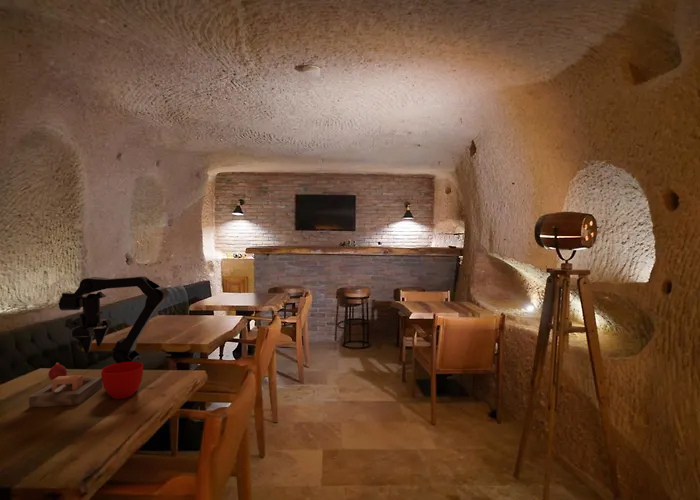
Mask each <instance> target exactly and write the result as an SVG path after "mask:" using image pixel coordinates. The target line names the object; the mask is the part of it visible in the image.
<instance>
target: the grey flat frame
mask: <svg viewBox="0 0 700 500" xmlns="http://www.w3.org/2000/svg"><path fill="white" fill-rule="evenodd" d="M102 387H103V382H102V376H98V377H83V386H82V387H81V388H79V389H78V390H77V391H72V384H71V385H70V386H68V387H67V388H65V389H64V391H63V392H59V393H58V394H54V393H53V392H52V382H51V383H50V384H47V385H46V386H45V387H43V388H41V389H39V390H38V391H36V392H35V393H33V394H31V395H29V396H28V404H29V407H28V408H41V407H42V408H44V407H45V408H46V407H58V406H72V405H75V406H76V405H81V404H82V403H83V402H84V401H86V400H87V399H88V398H89V397H91V396H92V395H93V394H95V393H96V392H98V391H99V390H100V389H101V388H102Z"/></svg>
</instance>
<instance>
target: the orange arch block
mask: <svg viewBox="0 0 700 500" xmlns="http://www.w3.org/2000/svg"><path fill="white" fill-rule="evenodd" d="M83 378H84V375H83V374H77V375H66V376H58V377H57V378H55V379H53V380H51V383H52V392H53V391H54V390H55V389H57V388H58V387H60V386H61V385H63V384H72V391H77V390H78V389H79V388H81V387H82V386H83ZM63 391H64V390H62V391H61V392H63Z"/></svg>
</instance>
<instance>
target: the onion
mask: <svg viewBox="0 0 700 500" xmlns="http://www.w3.org/2000/svg"><path fill="white" fill-rule="evenodd" d="M58 376H68V370H67V368H66V367H65V366H64V365H63V364H60V362H55V365H53V366H52V367H51V368H50V369H49V370H48V376H47V377H48V379H49V380H50V381H52V380H53V379H55V378H57V377H58Z"/></svg>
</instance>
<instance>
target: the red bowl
mask: <svg viewBox="0 0 700 500" xmlns="http://www.w3.org/2000/svg"><path fill="white" fill-rule="evenodd" d="M100 372H101V373H100V377H102V387H103V388H104V390H105V391H106V393H107V394H108V395H109V396H111V397H112V398H113V399H115V400H116V399H117V400H120V399H126V398H129V397H132V396H133V395H134V394H135V392H137V390H138V389H139V387H140V385H141V383H142V381H143V380H142V379H143V374H144V364H143V363H142V362H139V361H137V362H123V363H114V364H110V365H107V366H105V367H103V368H102V369H100Z"/></svg>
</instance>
